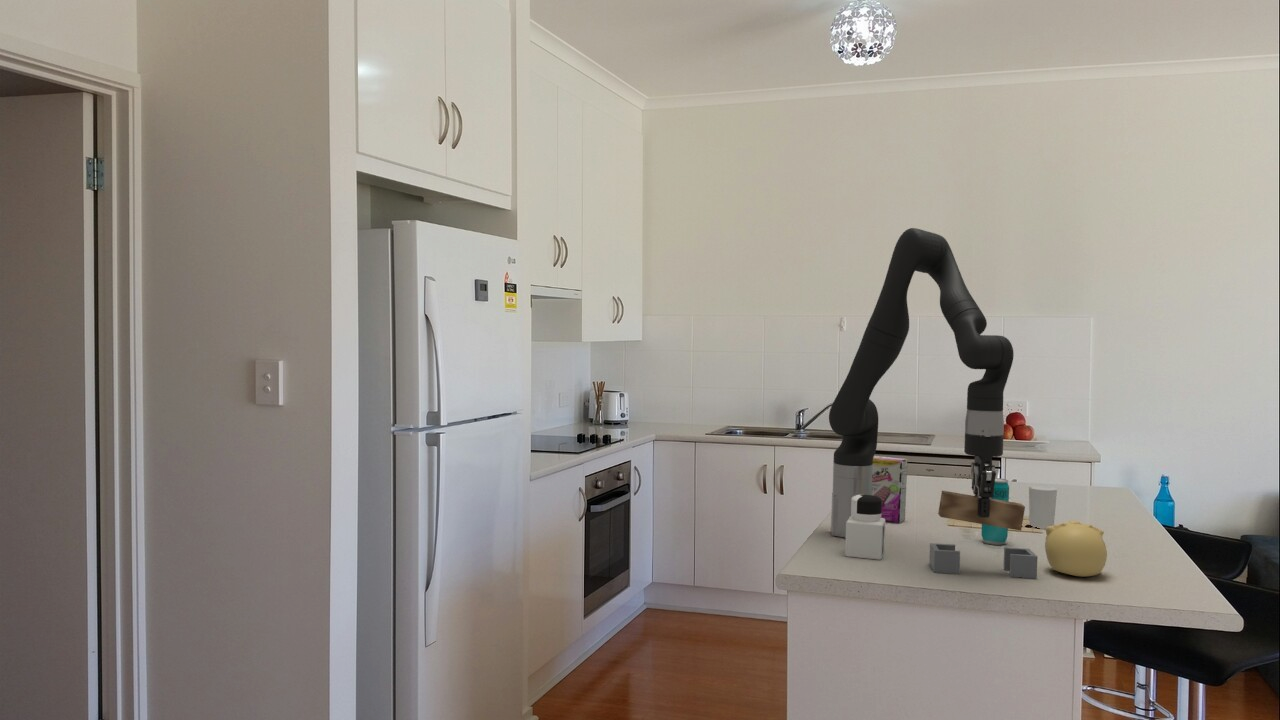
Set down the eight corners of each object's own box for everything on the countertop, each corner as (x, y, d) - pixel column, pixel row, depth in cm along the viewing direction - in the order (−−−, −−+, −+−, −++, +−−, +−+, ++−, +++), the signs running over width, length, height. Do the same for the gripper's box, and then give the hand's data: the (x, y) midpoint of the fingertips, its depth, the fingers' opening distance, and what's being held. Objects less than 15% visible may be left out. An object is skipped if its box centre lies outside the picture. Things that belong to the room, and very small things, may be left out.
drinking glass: (1056, 530, 242) (1058, 491, 242) (1028, 528, 244) (1029, 489, 244) (1054, 525, 248) (1055, 487, 248) (1026, 523, 251) (1028, 485, 250)
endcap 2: (1028, 570, 201) (1029, 548, 201) (1036, 578, 194) (1037, 556, 194) (1003, 568, 202) (1004, 547, 201) (1010, 577, 195) (1011, 555, 195)
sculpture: (1097, 568, 203) (1099, 518, 203) (1112, 583, 192) (1114, 529, 191) (1040, 564, 206) (1041, 514, 206) (1050, 578, 194) (1052, 525, 194)
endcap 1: (933, 572, 197) (934, 550, 197) (929, 564, 204) (930, 543, 204) (959, 573, 196) (960, 552, 196) (953, 565, 203) (954, 544, 203)
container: (884, 552, 214) (886, 494, 213) (881, 560, 207) (883, 500, 206) (849, 549, 216) (850, 491, 216) (844, 556, 209) (846, 497, 209)
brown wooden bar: (940, 517, 198) (944, 493, 198) (938, 513, 202) (941, 490, 202) (1021, 530, 196) (1025, 506, 196) (1017, 527, 199) (1021, 503, 199)
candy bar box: (857, 518, 252) (859, 456, 251) (864, 515, 256) (866, 454, 255) (900, 524, 246) (902, 460, 245) (905, 521, 250) (908, 458, 249)
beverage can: (1009, 546, 223) (1011, 482, 222) (983, 544, 224) (985, 480, 223) (1004, 541, 228) (1007, 478, 228) (979, 539, 230) (981, 477, 229)
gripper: (959, 428, 206) (957, 508, 206) (971, 435, 192) (968, 520, 192) (996, 429, 204) (993, 509, 205) (1010, 436, 191) (1008, 522, 191)
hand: (981, 514), depth 199 cm, fingers closed on brown wooden bar, 3 cm apart
